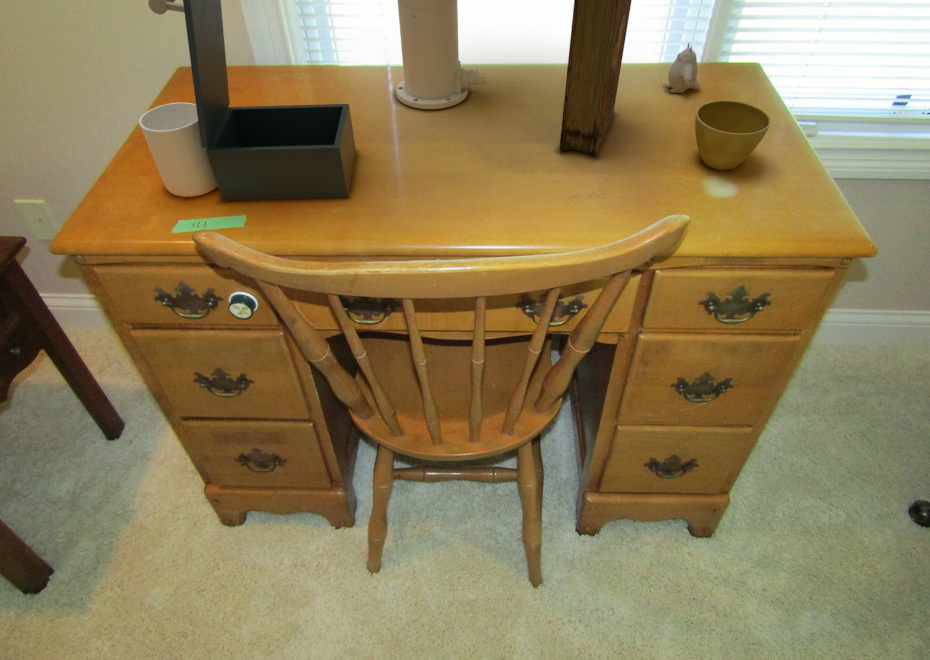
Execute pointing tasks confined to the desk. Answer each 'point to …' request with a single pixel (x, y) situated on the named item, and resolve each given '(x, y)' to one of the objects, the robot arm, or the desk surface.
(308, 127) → the chest
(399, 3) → the robot arm
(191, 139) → the mug
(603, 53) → the book
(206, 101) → the lid
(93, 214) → the desk surface
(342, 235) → the desk surface
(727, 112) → the flower pot
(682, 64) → the figurine
